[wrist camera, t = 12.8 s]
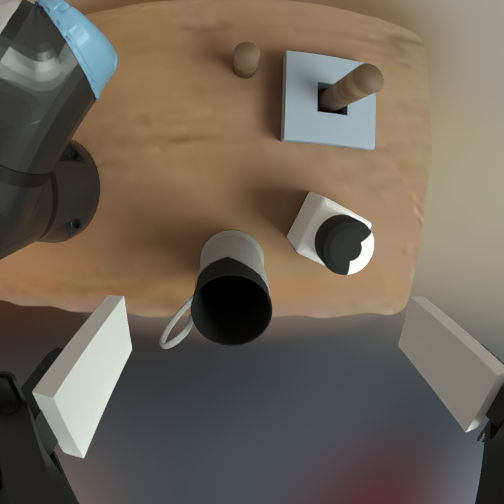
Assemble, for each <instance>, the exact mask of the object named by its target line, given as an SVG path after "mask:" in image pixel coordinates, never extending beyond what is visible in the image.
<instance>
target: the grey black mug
mask: <svg viewBox="0 0 504 504" xmlns="http://www.w3.org/2000/svg"><path fill="white" fill-rule="evenodd" d="M200 265H201V266H200V269H199V272H198V276H197V279H196V283H195V292H194V295H193V296H192V297H191V298H190V299H189V300H188V301H187V302H186V303H185V304H184V305H183V306H182V307H181V308H180V309H179V310H178V311H177V312H176V314H175V315H174V316H173V317H172V319H171V320H170V322H169V323H168V325H167V326H166V328H165V329H164V331H163V333H162V335H161V337H160V341H159V343H160V345H161V346H162V347H163V348H164V349H168V348H171V347H173V346H174V345H176V344H178V343H179V342H180V341H181V340H182V339H183V338H184V337H185V336H186V335H187V334H188V333H189V331H190V329H191V327H192V325H193V322H194V324H195V326H196V328H197V329H198V330H199V332H200V333H201V334H202V335H203V336H204V337H206V338H207V339H209V340H211V341H213V342H215V343H218V344H221V345H228V346H237V345H242V344H246V343H249V342H251V341H253V340H255V339H256V338H257V337H259V336H260V335H261V334H262V333H263V332H264V331H265V329H266V328H267V327H268V325H269V323H270V320H271V316H272V304H271V299H270V289H269V285H268V282H267V278H266V275H265V271H264V268H263V265H264V257H263V252H262V249H261V247H260V245H259V244H258V242H257V241H256V240H255V239H254V238H253V237H251V236H250V235H248V234H247V233H244V232H242V231H237V230H226V231H222V232H219V233H217V234H215V235H214V236H212V237H211V238H210V239H209V240H208V241H207V242H206V243H205V245H204V247H203V249H202V252H201V256H200ZM190 306H191V314H190V315H189V317H188V320H187V323H186V325H185V326H184V328H183V329H182V330H181V332H180V333H179V334H178V335H177V336H176V337H174V338H173V339H172V340H170V341H168V342H166V343H165V341H166V339H167V336H168V334H169V332H170V331H171V329H172V327H173V326H174V325H175V323H176V322H177V320H178V319H179V318H180V317H181V315H182V314H183V313H184V312H185V311H186V310H187V309H188V308H189V307H190Z"/></svg>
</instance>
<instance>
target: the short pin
mask: <svg viewBox="0 0 504 504" xmlns="http://www.w3.org/2000/svg"><path fill="white" fill-rule="evenodd" d="M259 57H260V50H259V48H258V47H257V46H256V45H255V44H253V43H249V42H244V43H241V44H239V45H237V46H236V48H235V49H234V62H233V69H234V73H235V74H236V75H237V76H238V77H240V78H250V77H252V76H253V75H254V74H255V72H256V69H257V65H258V61H259Z"/></svg>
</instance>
